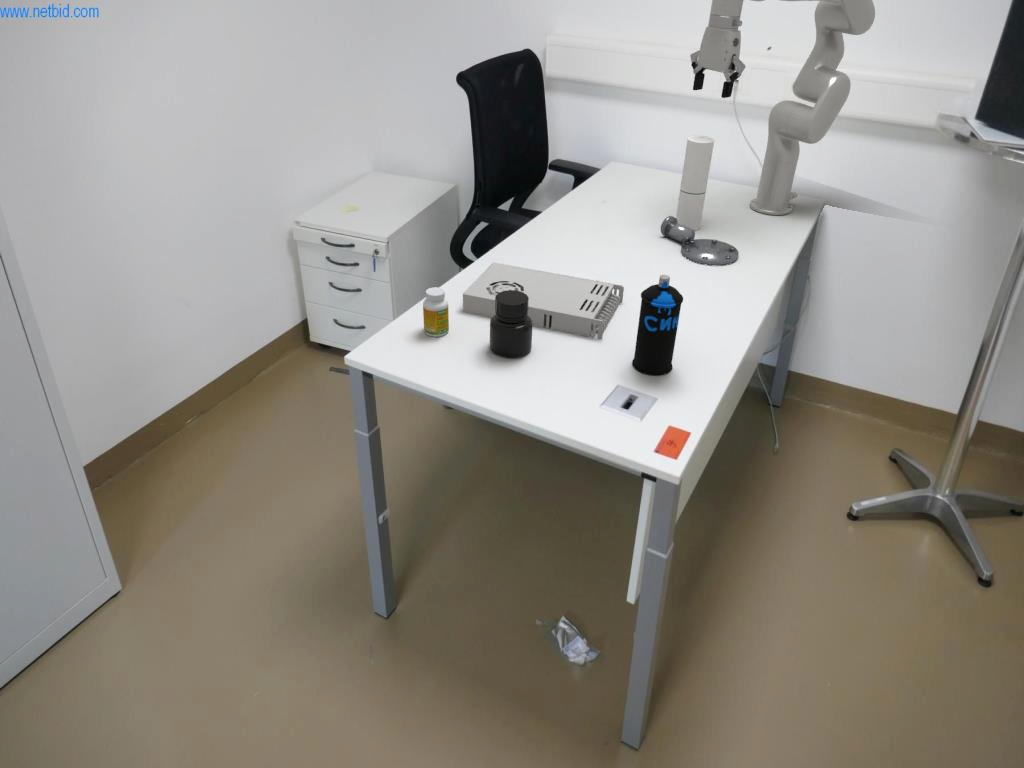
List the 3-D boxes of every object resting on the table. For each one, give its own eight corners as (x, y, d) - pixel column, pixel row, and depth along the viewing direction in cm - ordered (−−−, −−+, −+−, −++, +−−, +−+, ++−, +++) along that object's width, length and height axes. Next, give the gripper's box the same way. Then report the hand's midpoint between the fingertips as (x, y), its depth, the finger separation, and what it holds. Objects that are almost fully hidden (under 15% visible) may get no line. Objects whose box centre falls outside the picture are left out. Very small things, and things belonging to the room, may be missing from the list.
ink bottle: (537, 341, 169) (539, 291, 162) (528, 362, 161) (530, 310, 155) (493, 335, 170) (494, 285, 164) (482, 355, 163) (483, 304, 157)
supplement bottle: (439, 340, 168) (437, 299, 163) (419, 333, 170) (417, 292, 165) (453, 329, 172) (453, 289, 167) (433, 323, 174) (432, 283, 169)
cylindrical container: (698, 222, 230) (712, 136, 216) (701, 231, 224) (715, 143, 210) (674, 221, 230) (686, 134, 217) (675, 230, 224) (688, 142, 211)
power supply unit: (601, 341, 171) (603, 321, 168) (462, 313, 180) (462, 293, 177) (622, 304, 186) (624, 285, 183) (492, 280, 195) (492, 262, 192)
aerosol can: (628, 355, 165) (639, 268, 154) (666, 354, 165) (680, 267, 154) (636, 376, 158) (648, 286, 147) (676, 375, 158) (691, 285, 148)
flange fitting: (749, 257, 209) (753, 237, 206) (711, 270, 202) (715, 250, 199) (684, 229, 225) (687, 210, 222) (647, 240, 217) (650, 221, 214)
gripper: (761, 27, 194) (746, 98, 203) (707, 17, 205) (696, 85, 215) (741, 28, 190) (728, 101, 199) (688, 18, 201) (677, 88, 211)
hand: (711, 93), depth 207 cm, fingers open, 9 cm apart
